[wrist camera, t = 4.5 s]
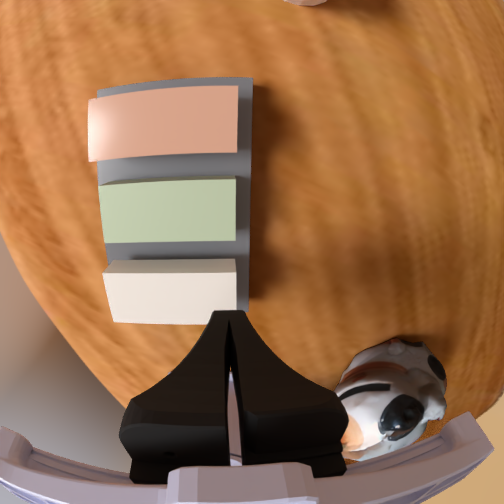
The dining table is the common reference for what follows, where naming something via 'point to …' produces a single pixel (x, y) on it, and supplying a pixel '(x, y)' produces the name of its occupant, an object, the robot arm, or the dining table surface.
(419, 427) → the lucky cat figurine
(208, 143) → the terracotta button
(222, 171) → the button panel
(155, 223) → the sage button
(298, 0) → the shot glass
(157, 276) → the off-white button
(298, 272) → the dining table surface
